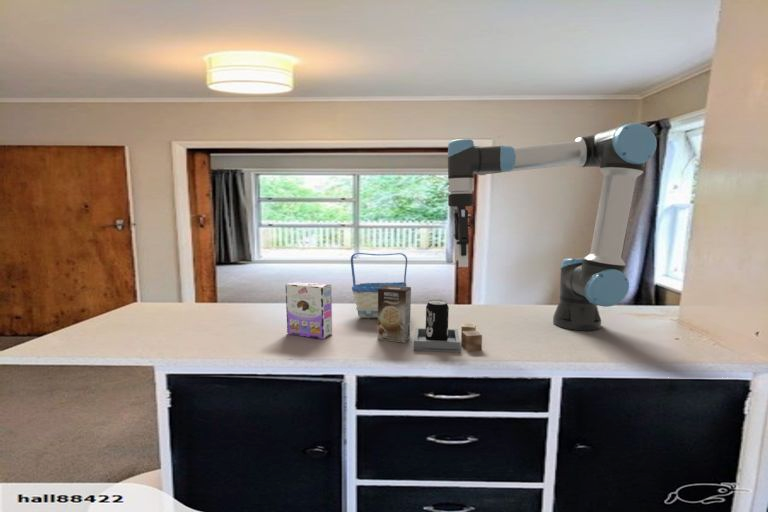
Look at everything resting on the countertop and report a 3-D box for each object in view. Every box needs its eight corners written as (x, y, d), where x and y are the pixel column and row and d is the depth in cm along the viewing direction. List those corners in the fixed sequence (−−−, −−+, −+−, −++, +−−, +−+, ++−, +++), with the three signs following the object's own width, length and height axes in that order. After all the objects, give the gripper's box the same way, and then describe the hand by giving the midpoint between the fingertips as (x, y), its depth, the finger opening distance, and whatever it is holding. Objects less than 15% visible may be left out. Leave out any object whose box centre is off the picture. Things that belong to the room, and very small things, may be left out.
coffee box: (376, 339, 135) (376, 288, 133) (383, 333, 141) (383, 284, 139) (405, 343, 132) (405, 290, 130) (411, 336, 138) (411, 286, 136)
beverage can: (446, 345, 128) (448, 304, 126) (424, 343, 129) (425, 303, 127) (448, 338, 134) (449, 299, 133) (426, 337, 135) (427, 298, 134)
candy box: (333, 334, 141) (332, 283, 138) (323, 340, 135) (322, 287, 133) (297, 329, 146) (296, 280, 144) (286, 334, 141) (284, 283, 139)
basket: (409, 312, 169) (410, 251, 166) (401, 323, 153) (402, 256, 150) (357, 309, 174) (357, 249, 171) (344, 320, 158) (343, 254, 155)
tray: (457, 337, 137) (457, 329, 137) (459, 352, 124) (460, 342, 124) (415, 336, 139) (415, 327, 138) (413, 350, 126) (413, 340, 125)
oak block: (475, 336, 139) (476, 324, 139) (474, 340, 135) (474, 327, 135) (462, 335, 140) (463, 323, 140) (461, 339, 137) (461, 326, 136)
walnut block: (476, 345, 131) (476, 330, 130) (481, 350, 126) (482, 335, 126) (461, 346, 130) (461, 331, 129) (466, 351, 126) (466, 335, 125)
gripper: (445, 193, 145) (446, 258, 148) (451, 192, 120) (451, 270, 123) (469, 193, 144) (469, 257, 147) (479, 192, 120) (479, 269, 122)
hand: (461, 263), depth 135 cm, fingers open, 13 cm apart
